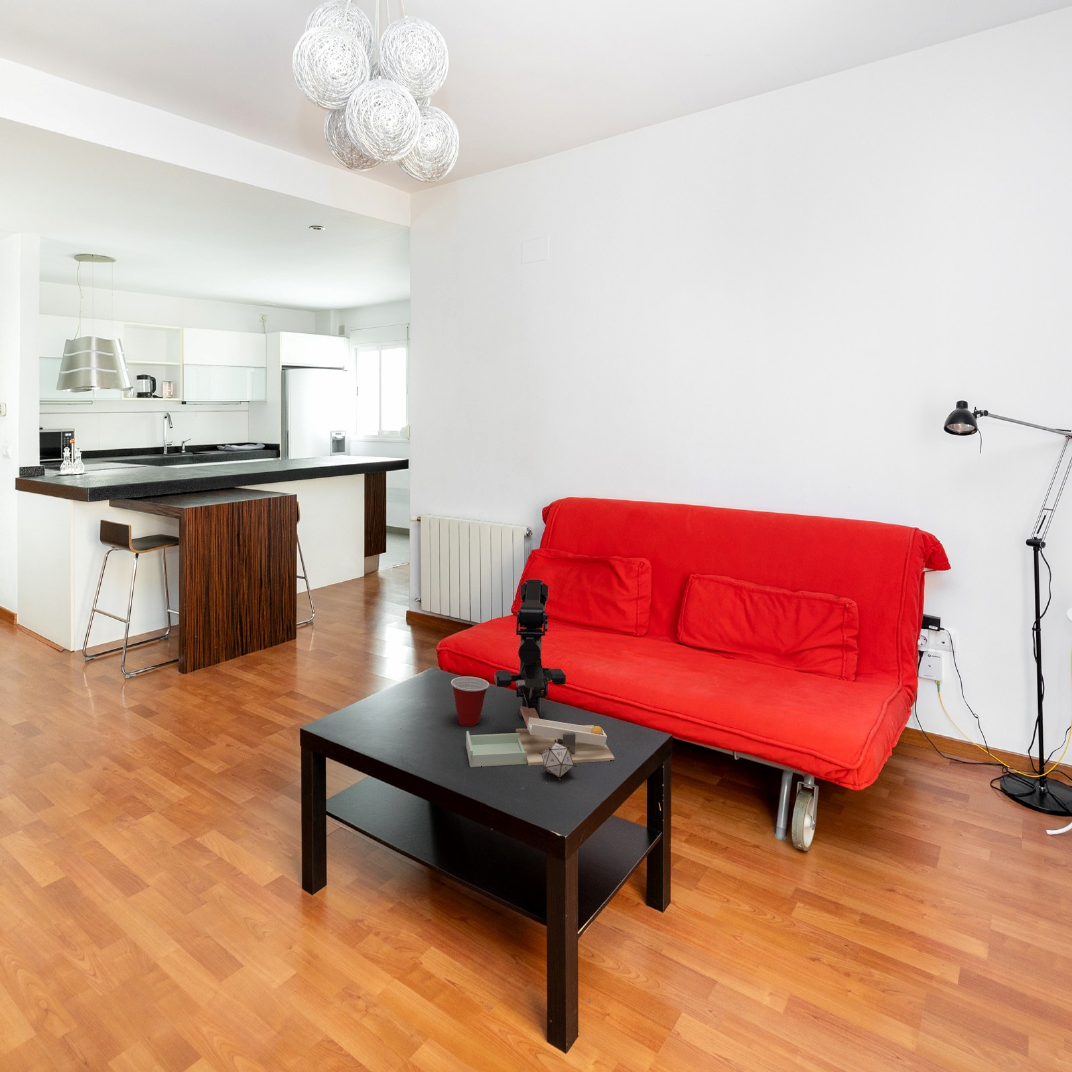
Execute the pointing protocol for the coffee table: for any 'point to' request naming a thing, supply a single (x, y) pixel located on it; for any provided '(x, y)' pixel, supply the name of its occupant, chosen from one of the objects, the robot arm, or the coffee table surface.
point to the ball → (597, 730)
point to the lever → (559, 728)
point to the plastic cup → (469, 698)
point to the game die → (557, 759)
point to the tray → (495, 749)
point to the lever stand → (579, 749)
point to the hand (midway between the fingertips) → (529, 707)
